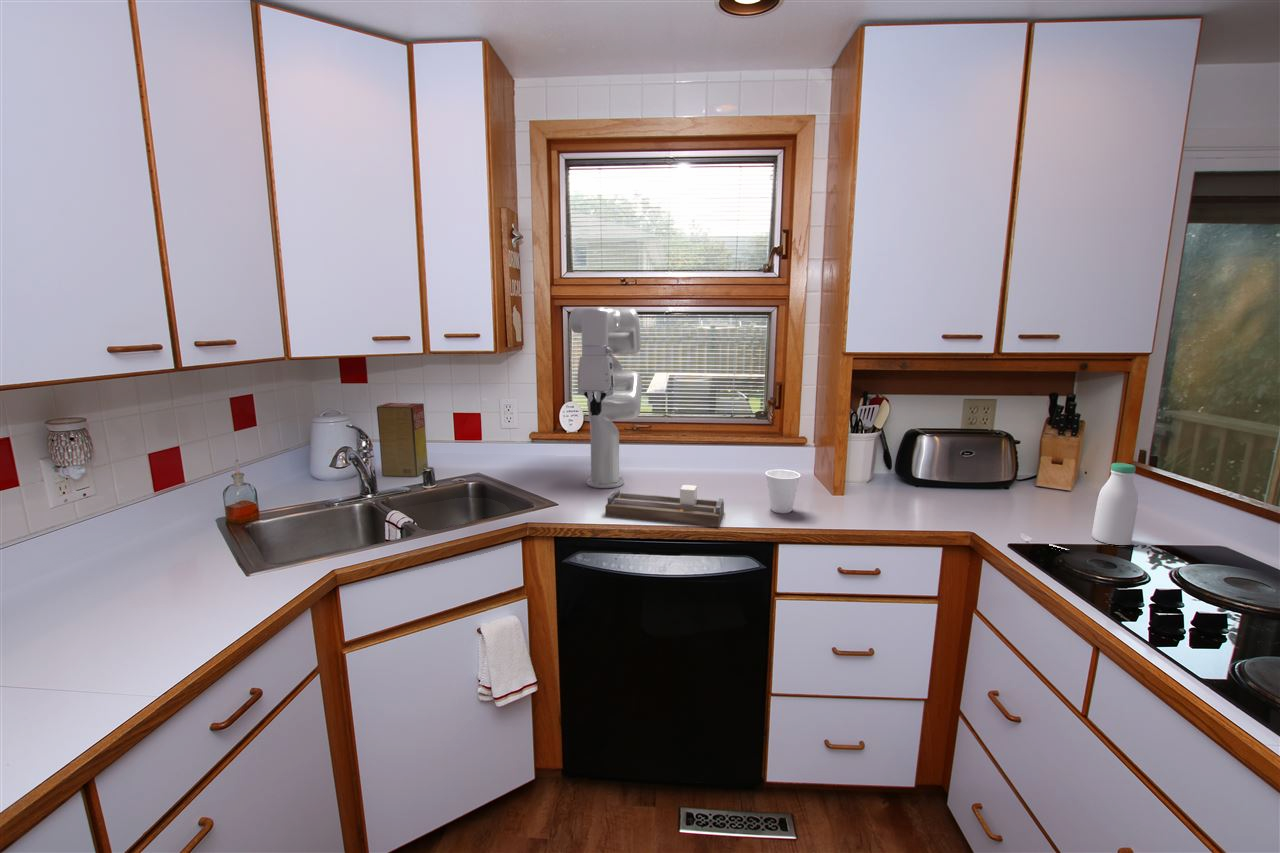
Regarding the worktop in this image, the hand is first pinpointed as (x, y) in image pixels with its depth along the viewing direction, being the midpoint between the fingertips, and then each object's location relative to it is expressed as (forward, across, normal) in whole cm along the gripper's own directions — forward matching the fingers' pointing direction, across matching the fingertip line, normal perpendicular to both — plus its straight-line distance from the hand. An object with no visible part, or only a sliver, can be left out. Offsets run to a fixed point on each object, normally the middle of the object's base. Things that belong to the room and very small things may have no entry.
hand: (595, 414), depth 166 cm
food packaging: (+27, +77, -13) cm, 83 cm away
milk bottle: (+27, -135, -6) cm, 138 cm away
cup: (+27, -54, -8) cm, 61 cm away
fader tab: (+24, -29, +4) cm, 37 cm away
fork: (+28, -121, +5) cm, 124 cm away
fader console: (+27, -22, +4) cm, 35 cm away
